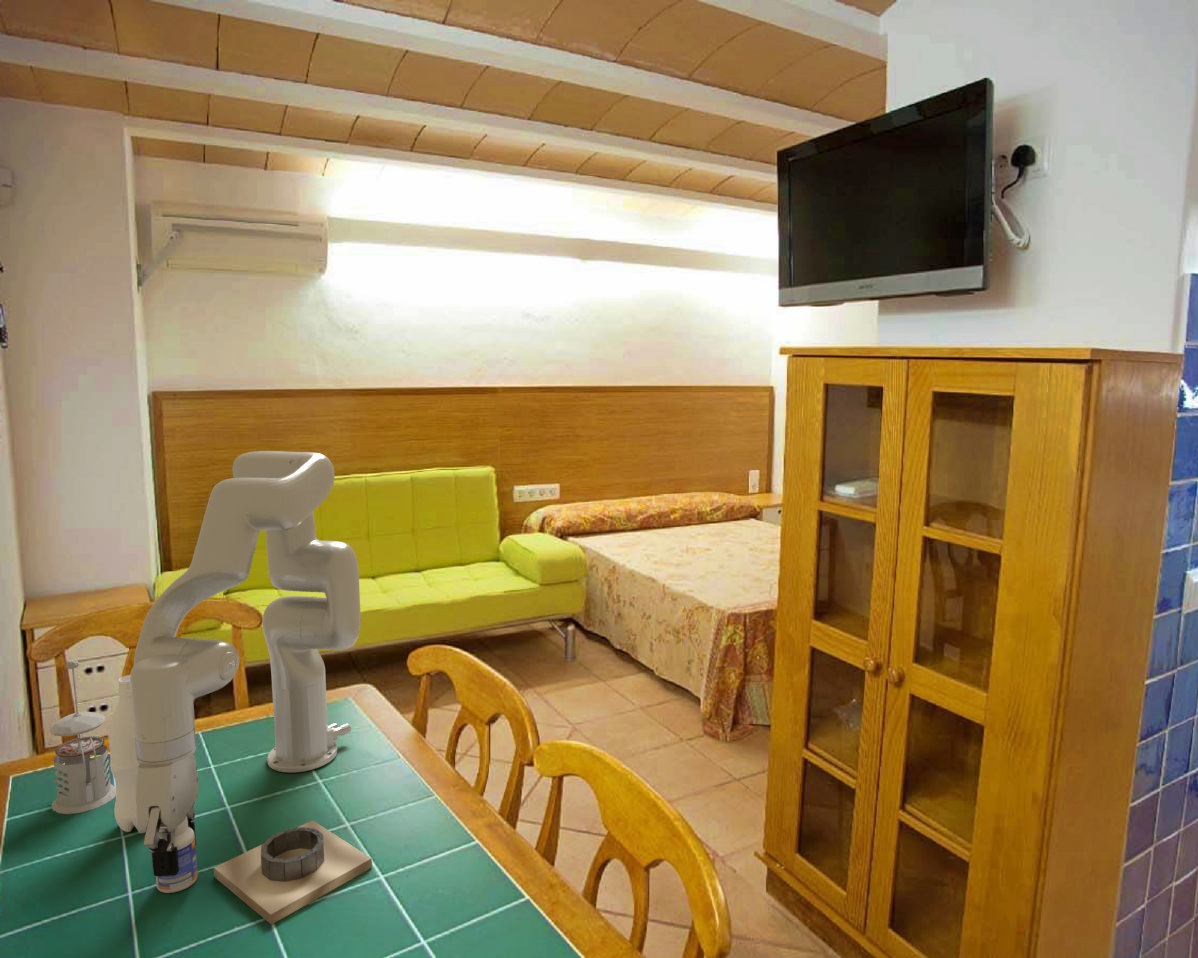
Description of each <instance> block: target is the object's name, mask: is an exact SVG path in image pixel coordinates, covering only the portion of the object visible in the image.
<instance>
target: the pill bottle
mask: <svg viewBox="0 0 1198 958" xmlns="http://www.w3.org/2000/svg"><path fill="white" fill-rule="evenodd" d="M160 827H167V825H164V823H161V825H160ZM158 836H159V838H160V839H165V840H166V841H167V833H159V834H158ZM195 837H196V835H195V836H194V831H193V830H192V829H191V828H190V827H188V820H187V816H185V817H184V818H183V820H182V821H181V822H180V824H179V825H178V826H177V827H176V828H175V837H174V847H177V853H178V866H179V872H178V873H177V875H172V876H155V884H156V888H157V890H158V891H159V892H161V893H163V894H170V893H177V892H180V891H183V890H185V889H188V888H190V887H191V886H192V885H193V884H195V883H196V881H197V879H198V871H199V869H198V860H197V848H196V846H195Z"/></svg>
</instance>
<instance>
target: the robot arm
mask: <svg viewBox="0 0 1198 958" xmlns="http://www.w3.org/2000/svg"><path fill="white" fill-rule="evenodd" d="M232 464H233V465H232V476H233V478H232V477H231V478H227V479H223V480H221V481H219V482H217V483H216V484H215V485H214V487H213V488H212V490H211V492H210V495H209V499H208V501H207V506H206V508H205V512H204V515H203V520H202V523H201V527H200V530H199V534H198V538H197V541H196V544H195V548H194V552H193V555H192V559H191V562H190V565H189V567H188V568H187V570H186V571H184V572H183V573H182V574H181V575H180V576H179V577H178V578H176V579H175V580H174V581H173V582H172V583H171V584H169V586H168V587H167V588H166V589H165V590H164V591H163V592H162V594H160V595H159V597H158V598H157V599H156V600H155V601H154V603H153V604H152V605H151V606H150V608H149V609H148V612H146V613H147V614H146V616H145V618H144V620H143V623H142V627H141V629H140V634H139V637H138V640H137V645H136V648H135V652H134V657H133V658H134V660H133V667H132V668H131V670H130V674H129V675H130V686H131V697H132V709H133V721H134V731H135V745H136V756H137V761H138V762H139V763H140V764H139V766H138V773H137V784H136V811H137V828H136V830H137V829H138V830H137V832H138V833H139V834H144V833H145V835H144V839H143V840H144V841H143V846H144V847H147V848H148V849H149V852H150V853H151V859H152V862H151V863H152V871H153V873H152V874H153V876H155V877H156V876H172V875H177V873H178V872H179V866H178V853H177V847H174V837H175V828H176V827H177V826H178V825H179V824H180V822H181V821H182V820H183V818H184V817H185V816H187V820H188V827H190V828H191V829H192V830H193V831H194V836H195V847H196V846H197V841H196V840H197V838H196V837H197V836H196V828H195V827H196V826H195V824H196V823H195V819H196V813H195V808H194V805H195V803H196V801H197V799H198V796H199V777H198V767H197V760H196V755H195V754H196V753H195V751H196V750H197V734H196V733H197V732H196V724H195V723H196V722H195V721H196V720H195V709H194V701H195V700H196V699H197V698H199V697H203V696H205V695H208V694H210V693H213V692H216V691H219V690H220V689H223V688H224V687H225V686H227V685H228V684H229V683H230V682H231V681H232V680H233V679H234V677H235V675H236V674H237V672H238V670H239V664H240V656H239V652H238V651H237V648H235V646H234V645H233V644H231V643H230V642H228V641H224V640H219V639H211V638H209V639H208V638H195V637H177V633H178V630H179V628H180V626H181V623H182V622H183V620H184V619H185V618H186V617H187V614H188V613H190V612H191V610H193V608H195V607H196V606H197V605H199V604H200V603H202V602H203V601H205V600H207V599H209V598H210V597H213V596H216V595H218V594H220V593H222V592H224V591H227V590H229V589H232V588H234V587H235V588H236V586H239V585H240V584H242V583H244V582H245V581H246V580H247V579H248V577H249V575H250V571H251V568H252V563H253V558H254V556H255V550H256V547H257V543H258V540H259V536H260V532H261V531H265V537H266V554H267V568H268V577H269V579H270V580H269V581H270V583H271V584H272V586H273V587H274V588H276V589H278V590H281V591H289V592H301V593H303V592H306V593H323V594H324V595H325V597H320V596H319V597H318V596H303V595H301V596H300V595H289V596H283V597H282V596H281V597H278V598H276V599H275V600H272V601H271V602H269V604H268V605H267V606H266V608H265V610H264V611H263V612H264V613H263V614H262V620H261V623H262V632H263V636H264V640H265V643H266V647H267V650H268V654H269V656H268V657H269V661H270V662H269V663H270V673H271V690H272V692H271V693H272V694H271V695H272V706H273V707H272V708H273V709H272V710H273V711H272V712H273V724H274V725H273V726H274V741H275V742H274V745H275V747H274V748H272V749H271V750H270V751H269V752H268V754H267V760H266V761H267V765H268V767H269V768H270V769H272V770H274V771H277V772H280V773H302V772H303V773H304V772H307V771H308V772H309V771H311V770H316V769H319V768H321V767H323V766H325V765H327V764H329V763H330V762H331V761H332V760H334V759H335V758H336V756H337V755H338V745H337V743H336V742H335V741H336V740H338V738H339V737H342V736H345V735H347V734H349V733H351V732H352V731H351V730H352V728H351V725H350V724H349V723H344V724H341V725H339V726H338V724H337V723H332V724H330V725H328V707H327V706H328V705H327V683H326V682H327V681H326V667H325V666H326V665H325V663H324V660H323V658H322V656H321V654H320V651H319V650H325V651H327V650H328V651H329V650H330V651H340V650H341V651H342V650H343V651H344V650H347V649H350V648H351V647H353V646H354V645H355V644H356V642H357V641H358V638H359V635H360V632H361V631H360V630H361V617H362V616H361V596H360V595H361V592H360V591H361V590H360V572H359V564H358V563H359V562H358V559H357V554H356V553H355V550H354V549H353V548H352V547H351V546H350V545H349V544H348V543H347V542H343V541H337V540H321V539H318V537H317V534H316V526H315V525H316V524H315V515H314V511H315V510H316V509H317V508H318V507H320V506H321V504H322V503H324V501H325V500H326V498H328V497H329V494H330V493H331V491H332V489H333V486H334V483H335V477H336V475H335V468H334V467H335V466H334V465H333V462H331V460H330V459H329V457H327V456H326V455H325V454H322V453H319V452H312V451H311V452H310V451H303V452H302V451H282V450H280V451H278V450H258V451H256V450H255V451H250V452H245V453H243V454H239V455H238V456H237V457H235V460H234V461H233V463H232ZM161 823H164V825H167V827H160V825H161ZM159 833H167V841H166V840H165V839H160V838H159V836H158V834H159Z"/></svg>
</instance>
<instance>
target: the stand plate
mask: <svg viewBox="0 0 1198 958" xmlns="http://www.w3.org/2000/svg"><path fill="white" fill-rule="evenodd" d="M298 827H305V828H314V829H316V830H317V831H319V832H321V833H322V834H323V843H324V862H323V863H322V865H321V866H320V867H319V868H318V870H316V871H315V872H313V873H311V874H310V875H308V876H306V877H304V878H302V879H297V880H292V881H288V882H280V881H271V880H269V879H268V878H266V877H265V876H264V875H263V874H262V867H261V846H262V845H263V844H264V843H261V844H260V845H258V846H256V847H253V848H252V849H250V850H248V851H245V852H244V853H242V854H239V855H238V856H235V857H233V858H231V859H229V860H226V861H225V862H223V863H220V864H219V865H216V866H215V867H213V872H214V875H213V876H214V878H215V879H216V880H217V881H218V882H220V883H221V884H222V885H223V886H225V887H226V889H228V890H230V892H231V893H233V894H234V895H235V896H237V897H238V898H239V899H240V900H241V901H242V902H244V903H245V904H246V905H247V906H248V907H249V908H251V909H252V910H253V911H254V912H256V913H257V914H258V915H259V916H260V917H262V918H263V919H264V920H265V921H266V922H267V923H269V925H273V924H275V923H277V922H279V921H280V920H282V919H284V918H286V917H288V916H289V915H291V914H293V913H294V912H297V911H298V910H299V909H301V908H303V907H305V906H307V905H309V904H311V903H312V902H314V901H316V900H317V899H319V898H321V897H323V896H324V895H327V894H328V893H330V892H332V891H334V890H335V889H337V888H338V887H340V886H343V885H344V884H346V883H347V882H349V881H351V880H353V879H354V878H357V877H358V876H359V875H362V874H363V873H365V872H366V871H369V870H371V869H372V868H373V860H372V857H370V856H369V855H367V854H366V853H365V852H363V851H361V850H360V849H358V848H356V847H354V845H351V844H350V843H348V842H347V841H346V840H344V839H342V838H340V837H339V836H338V835H336V834H335V833H333V832H331V831H330V830H329V829H327V828H325V827H324V826H322V825H320V824H319V823H318V822H317V821H314V820H310V821H308V822H306V823H303V824H301V825H299V826H297V827H296V828H298ZM309 851H311V849H301V848H299V849H294V850H289V851H286V852H284V853H282V854H280V855H278V856H276V857H275V858H279V859H289V858H294V857H299V856H301V855H303V854H305V853H307V852H309Z"/></svg>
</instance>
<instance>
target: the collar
mask: <svg viewBox="0 0 1198 958" xmlns="http://www.w3.org/2000/svg"><path fill="white" fill-rule="evenodd" d="M297 827H298V828H297ZM297 827H294V828H287V829H285V830H281V831H279V832H278V833H275V834H273V835H271V836H270V837H268V838H267V839H266V841H264V843H262V844H263V845H262V844H261V845H262V846H261V867H262V874H263V875H264V876H265V877H266V878H268V879H269V880H271V881H280V882H288V881H292V880H297V879H302V878H304V877H306V876H308V875H310V874H311V873H313V872H315V871H316V870H318V868H319V867H320V866H321V865H322V863H323V862H324V843H323V834H322V833H321V832H319V831H317V830H316V829H314V828H305V827H299V826H297ZM299 848H301V849H311V851H309V852H307V853H305V854H303V855H301V856H299V857H294V858H289V859H279V858H275V857H276V856H278V855H280V854H282V853H284V852H286V851H289V850H294V849H299Z"/></svg>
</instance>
